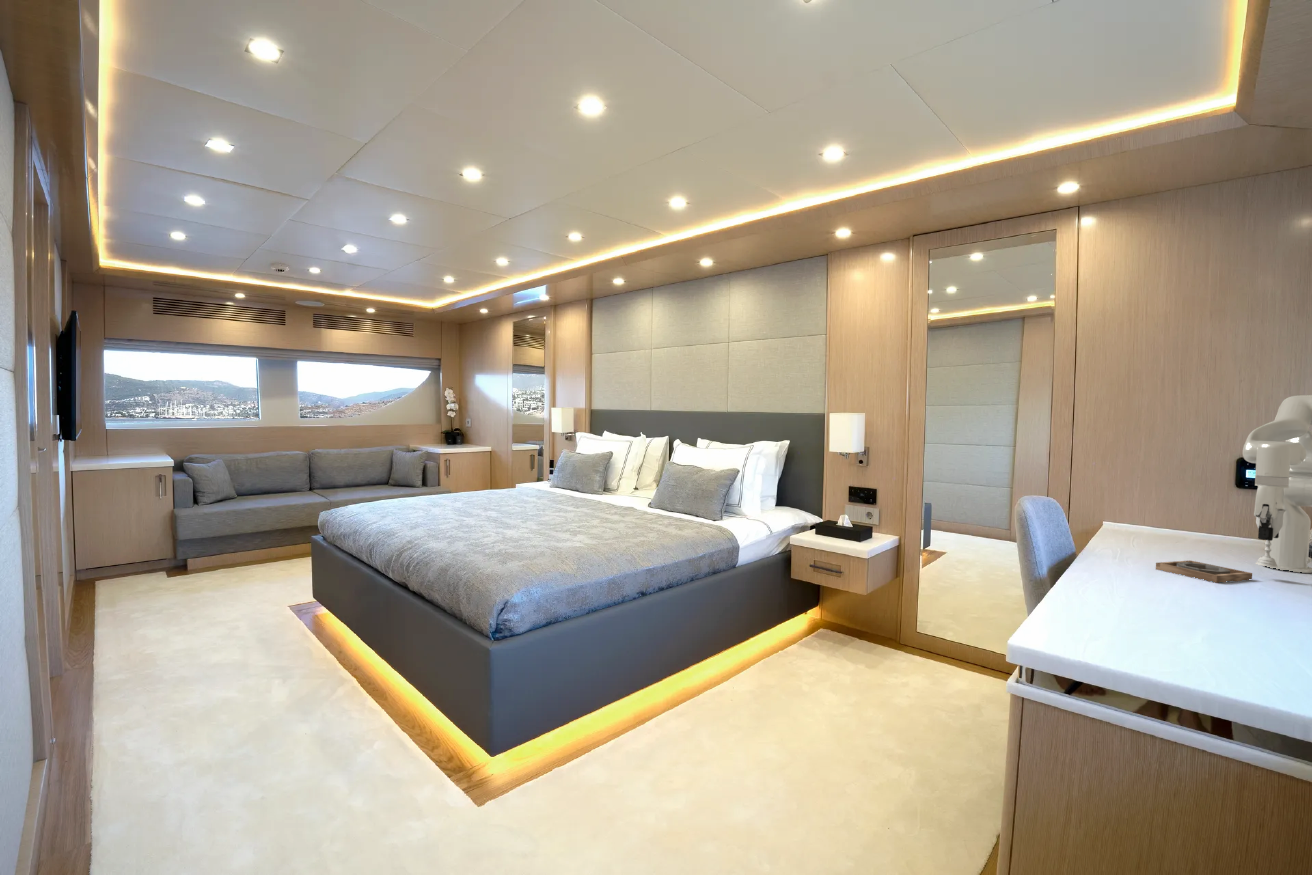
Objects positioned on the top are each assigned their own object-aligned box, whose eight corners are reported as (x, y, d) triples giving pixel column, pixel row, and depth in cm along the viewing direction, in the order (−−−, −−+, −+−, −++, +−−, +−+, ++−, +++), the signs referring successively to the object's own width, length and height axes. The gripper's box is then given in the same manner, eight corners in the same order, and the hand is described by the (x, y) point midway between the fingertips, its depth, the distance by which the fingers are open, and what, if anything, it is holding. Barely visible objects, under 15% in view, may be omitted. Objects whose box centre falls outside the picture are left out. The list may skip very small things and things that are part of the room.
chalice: (1289, 568, 190) (1292, 510, 189) (1267, 567, 190) (1270, 510, 189) (1266, 562, 197) (1269, 506, 196) (1244, 561, 197) (1248, 506, 196)
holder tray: (1189, 566, 208) (1190, 559, 208) (1251, 579, 192) (1252, 572, 192) (1155, 569, 202) (1156, 561, 202) (1216, 583, 186) (1216, 574, 186)
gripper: (1263, 479, 200) (1259, 533, 201) (1247, 482, 190) (1243, 539, 191) (1295, 481, 194) (1292, 537, 195) (1281, 484, 184) (1277, 544, 185)
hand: (1268, 537), depth 193 cm, fingers closed on chalice, 6 cm apart
